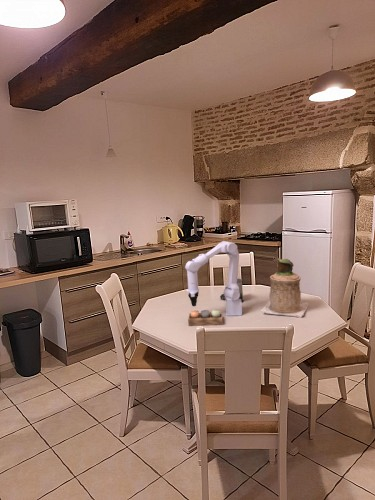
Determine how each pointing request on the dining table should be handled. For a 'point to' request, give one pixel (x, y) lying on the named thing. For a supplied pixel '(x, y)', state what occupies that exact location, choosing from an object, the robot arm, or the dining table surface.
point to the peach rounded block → (195, 314)
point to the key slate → (205, 314)
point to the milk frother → (239, 283)
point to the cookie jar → (285, 292)
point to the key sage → (215, 313)
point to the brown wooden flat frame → (205, 320)
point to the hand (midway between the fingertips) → (194, 305)
